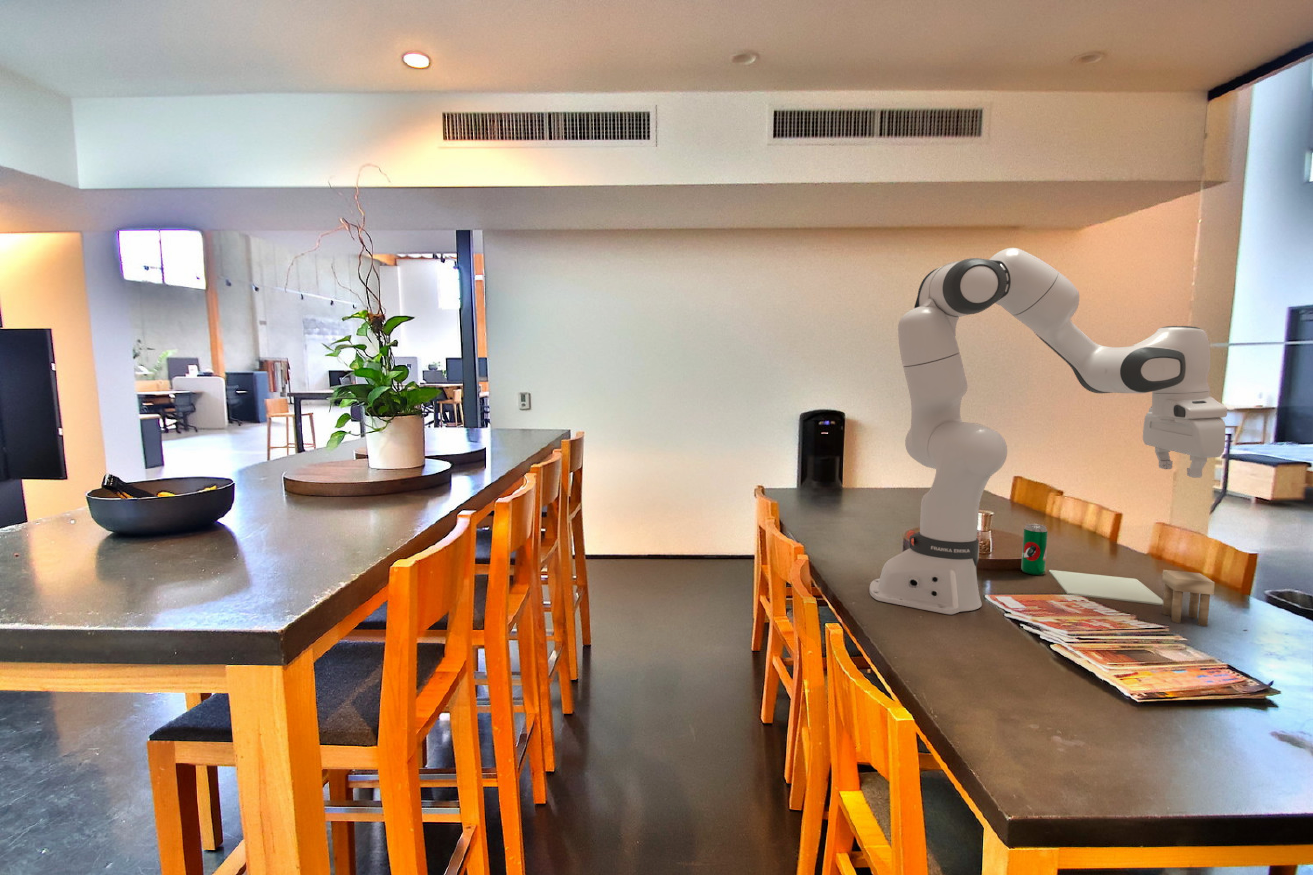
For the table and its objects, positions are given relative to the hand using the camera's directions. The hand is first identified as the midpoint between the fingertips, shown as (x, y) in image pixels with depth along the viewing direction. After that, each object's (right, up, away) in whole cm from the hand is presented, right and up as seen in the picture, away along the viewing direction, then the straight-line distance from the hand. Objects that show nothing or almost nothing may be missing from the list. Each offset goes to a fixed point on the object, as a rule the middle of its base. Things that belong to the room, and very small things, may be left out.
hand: (1179, 472), depth 122 cm
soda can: (-14, -27, +26) cm, 40 cm away
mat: (-4, -28, +16) cm, 32 cm away
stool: (-2, -29, -3) cm, 29 cm away
